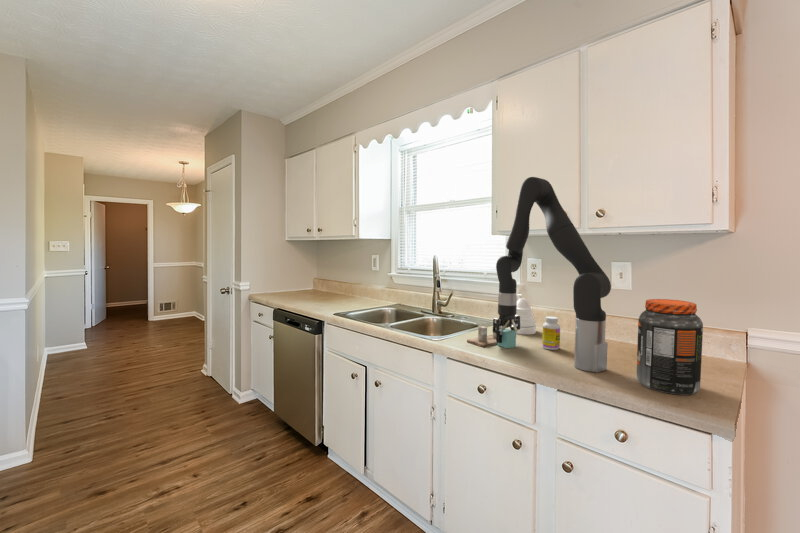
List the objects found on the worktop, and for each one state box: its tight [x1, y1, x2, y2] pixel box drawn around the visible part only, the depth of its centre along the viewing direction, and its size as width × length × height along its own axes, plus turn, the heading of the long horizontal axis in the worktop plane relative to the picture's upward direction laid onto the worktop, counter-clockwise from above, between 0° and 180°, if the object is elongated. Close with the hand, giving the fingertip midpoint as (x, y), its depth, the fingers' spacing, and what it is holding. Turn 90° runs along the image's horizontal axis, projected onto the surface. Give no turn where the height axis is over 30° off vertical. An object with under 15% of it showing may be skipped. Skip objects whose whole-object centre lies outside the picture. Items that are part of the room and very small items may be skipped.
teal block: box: [497, 328, 517, 349], centre depth 155 cm, size 5×5×7 cm
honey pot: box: [507, 293, 537, 335], centre depth 181 cm, size 13×13×18 cm
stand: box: [466, 325, 502, 348], centre depth 162 cm, size 10×18×7 cm, turn 123°
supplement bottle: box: [541, 315, 561, 351], centre depth 152 cm, size 7×7×13 cm
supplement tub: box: [636, 298, 704, 396], centre depth 111 cm, size 16×16×26 cm
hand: (506, 341), depth 155 cm, fingers open, 8 cm apart
